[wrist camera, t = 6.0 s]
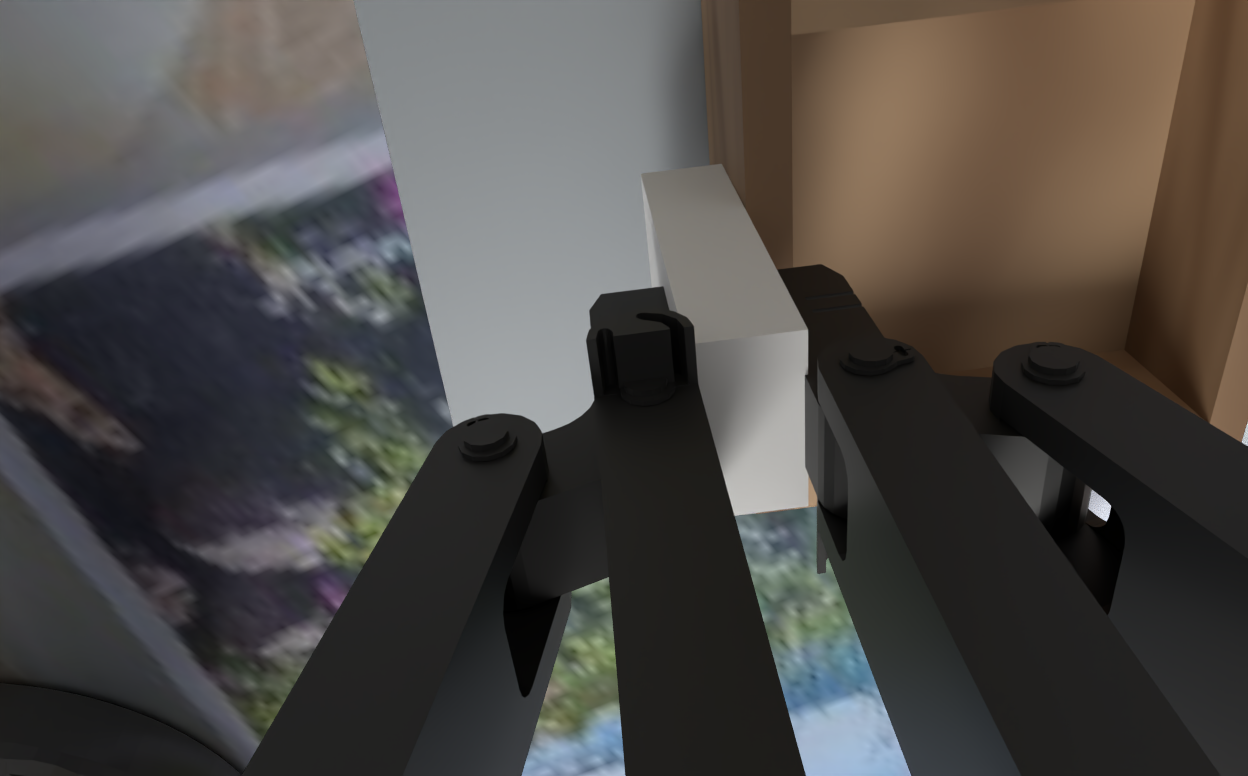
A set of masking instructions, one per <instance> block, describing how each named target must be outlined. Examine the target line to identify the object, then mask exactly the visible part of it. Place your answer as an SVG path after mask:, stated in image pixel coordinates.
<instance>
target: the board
mask: <svg viewBox="0 0 1248 776" xmlns="http://www.w3.org/2000/svg"><path fill="white" fill-rule="evenodd" d="M353 1H354V5H355V9H356V13H357V18H358V22H359V26H360V30H361V35H362V39H363V43H364V47H365V52H366V56H367V60H368V64H369V69H370V73H371V77H372V82H373V86H374V90H375V94H376V99H377V103H378V107H379V111H380V116H381V120H382V124H383V128H384V133H385V137H386V141H387V145H388V150H389V154H390V158H391V162H392V167H393V171H394V175H395V180H396V184H397V188H398V192H399V197H400V201H401V205H402V209H403V214H404V218H405V222H406V226H407V231H408V235H409V239H410V243H411V248H412V252H413V256H414V260H415V265H416V269H417V273H418V278H419V282H420V286H421V290H422V295H423V299H424V303H425V307H426V312H427V316H428V320H429V324H430V329H431V333H432V337H433V341H434V346H435V350H436V354H437V358H438V363H439V367H440V371H441V376H442V380H443V384H444V388H445V393H446V397H447V401H448V405H449V410H450V414H451V418H452V422H453V427H454V426H456V425H458V424H459V423H461V422H463V421H465V420H468V419H470V418H473V417H474V418H475V417H477V416H481V415H485V414H499V413H506V414H514V415H521V416H524V417H526V418H528V419H530V420H532V421H534V422H535V423H536V424H537V425H538V427H539V428H540V430H541V431H542V433H545V432H548V431H551V430H554V429H557V428H559V427H562V426H564V425H566V424H569V423H571V422H572V421H574V420H575V419H577V418H579V417H580V416H582V415H583V414H584V413H585V412H586V411H587V410H588V409H589V408H590V407H591V405H592V403H593V401H594V393H593V386H592V379H591V372H590V365H589V358H588V351H587V344H586V338H587V335H588V332H589V329H591V326H590V314H589V310H590V308H591V307H592V306H593V304H594V303H595V302H596V300H597V299H598V298H599V296H600V295H601V294H605V293H613V292H621V291H629V290H637V289H645V288H652V284H651V274H650V264H649V254H648V244H647V234H646V223H645V213H644V203H643V193H642V183H641V174H643V173H651V172H659V171H667V170H675V169H683V168H691V167H699V166H707V165H710V161H709V142H708V124H707V105H706V86H705V68H704V49H703V31H702V12H701V0H353Z"/></svg>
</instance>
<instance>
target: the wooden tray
mask: <svg viewBox="0 0 1248 776" xmlns="http://www.w3.org/2000/svg"><path fill="white" fill-rule="evenodd" d="M701 12H702V31H703V49H704V68H705V86H706V105H707V124H708V142H709V161H710V165H715V164H722V165H723V167H724V169H725V171H726V173H727V175H728V177H729V179H730V181H731V182H732V184H733V186H734V188H735V190H736V192H737V194H738V196H739V198H740V200H741V202H742V204H743V206H744V207H745V209H746V211H747V213H748V215H749V217H750V219H751V221H752V223H753V225H754V227H755V229H756V230H757V232H758V234H759V236H760V238H761V240H762V242H763V244H764V246H765V248H766V250H767V252H768V254H769V255H770V257H771V259H772V261H773V263H774V265H775V267H776V269H777V270H778V269H785V268H793V267H801V266H809V265H817V264H822V265H824V266H826V267H828V268H830V269H832V270H834V271H835V272H837V273H839V274H841V275H843V276H844V277H845V279H846V280H847V282H848V284H849V285H850V287H851V288H852V290H853V291H854V294H856V296H857V297H858V299H859V300H860V302H861V303H862V307H864V308H865V309H866V311H867V312H868V314H869V315H870V317H871V318H872V320H873V321H874V323H875V324H876V326H877V327H878V329H879V330H880V332H881V333H882V335H883V336H884V338H888V339H894V340H898V341H900V342H903V343H905V344H908V345H910V346H912V347H914V348H915V349H916V350H917V351H918V352H919V353H921V354H922V355H923V356H924V358H925V359H926V361H927V362H928V363H929V365H930V366H931V368H932V369H933V370H934V372H935V373H939V374H946V375H955V376H973V377H992V370H993V361H994V360H995V359H996V357H997V356H998V355H999V354H1000V353H1001V352H1002V351H1004V350H1007V349H1009V348H1011V347H1013V346H1016V345H1022V344H1029V343H1033V342H1046V343H1049V342H1058V343H1062V344H1064V345H1068V346H1073V347H1078V348H1081V349H1084V350H1086V351H1088V352H1090V353H1093V354H1095V355H1097V356H1099V357H1101V358H1103V359H1104V360H1106V361H1108V362H1109V363H1111V364H1113V365H1114V366H1116V367H1117V368H1119V369H1121V370H1122V371H1124V372H1126V373H1127V374H1129V375H1131V376H1132V377H1134V378H1136V379H1137V380H1139V381H1141V382H1142V383H1144V384H1146V385H1147V386H1149V387H1150V388H1152V389H1154V390H1155V391H1157V392H1159V393H1160V394H1162V395H1164V396H1165V397H1167V398H1169V399H1170V400H1172V401H1174V402H1175V403H1177V404H1179V405H1180V406H1182V407H1183V408H1185V409H1187V410H1188V411H1190V412H1192V413H1193V414H1195V415H1197V416H1198V417H1200V418H1202V419H1203V420H1205V421H1207V422H1208V423H1210V424H1212V425H1213V426H1215V427H1216V428H1218V429H1220V430H1221V431H1223V432H1225V433H1226V434H1228V435H1230V436H1231V437H1233V438H1235V439H1236V440H1238V441H1240V442H1242V439H1243V435H1244V432H1245V428H1246V425H1247V422H1248V0H701ZM814 506H817V495H816V492H815V490H814V487H813V485H812V483H811V480H810V478H809V475H808V506H807V507H814ZM799 508H806V507H799ZM799 508H791V509H799ZM791 509H783V510H791ZM783 510H775V511H767V512H759V513H756V514H760V513H768V512H776V511H783Z"/></svg>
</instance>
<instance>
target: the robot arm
mask: <svg viewBox="0 0 1248 776" xmlns="http://www.w3.org/2000/svg"><path fill="white" fill-rule="evenodd" d="M641 183H642V193H643V203H644V213H645V223H646V234H647V244H648V254H649V264H650V274H651V284H652V288H645V289H637V290H629V291H621V292H613V293H605V294H601V295H600V296H599V298H598V299H597V300H596V302H595V303H594V304H593V306H592V307H591V308H590V310H589V314H590V326H591V329H589V332H588V335H587V338H586V344H587V351H588V358H589V365H590V372H591V379H592V386H593V393H594V401H593V403H592V405H591V407H590V408H589V409H588V410H587V411H586V412H585V413H584V414H583V415H582V416H580V417H579V418H577V419H575V420H574V421H572V422H571V423H569V424H566V425H564V426H562V427H559V428H557V429H554V430H551V431H548V432H545V433H542V431H541V430H540V428H539V427H538V425H537V424H536V423H535V422H534V421H532V420H530V419H528V418H526V417H524V416H521V415H514V414H506V413H499V414H485V415H481V416H477V417H475V418H474V417H473V418H470V419H468V420H465V421H463V422H461V423H459V424H458V425H456V426H454V427H452V428H451V429H449V430H447V431H446V432H445V433H444V434H443V435H442V436H441V437H440V439H439V440H438V441H437V442H436V443H435V445H434V446H433V448H432V450H431V451H430V453H429V455H428V457H427V458H426V460H425V462H424V464H423V465H422V467H421V469H420V470H419V472H418V474H417V476H416V477H415V479H414V481H413V482H412V484H411V486H410V488H409V489H408V491H407V493H406V494H405V496H404V498H403V500H402V501H401V503H400V505H399V506H398V508H397V510H396V512H395V513H394V515H393V517H392V518H391V520H390V522H389V524H388V525H387V527H386V529H385V530H384V532H383V534H382V536H381V537H380V539H379V541H378V542H377V544H376V546H375V548H374V549H373V551H372V553H371V554H370V556H369V558H368V560H367V561H366V563H365V565H364V566H363V568H362V570H361V572H360V573H359V575H358V577H357V578H356V580H355V582H354V584H353V585H352V587H351V589H350V590H349V592H348V594H347V596H346V597H345V599H344V601H343V602H342V604H341V606H340V608H339V609H338V611H337V613H336V614H335V616H334V618H333V620H332V621H331V623H330V625H329V626H328V628H327V630H326V632H325V633H324V635H323V637H322V638H321V640H320V642H319V644H318V645H317V647H316V649H315V650H314V652H313V654H312V656H311V657H310V659H309V661H308V662H307V664H306V666H305V668H304V669H303V671H302V673H301V674H300V676H299V678H298V680H297V681H296V683H295V685H294V686H293V688H292V690H291V692H290V693H289V695H288V697H287V698H286V700H285V702H284V704H283V705H282V707H281V709H280V710H279V712H278V714H277V716H276V717H275V719H274V721H273V722H272V724H271V726H270V728H269V729H268V731H267V733H266V734H265V736H264V738H263V740H262V741H261V743H260V745H259V747H258V748H257V750H256V752H255V753H254V755H253V757H252V759H251V760H250V762H249V764H248V765H247V767H246V769H245V771H244V772H243V774H242V775H241V774H240V773H239V772H238V771H236V770H235V769H234V768H233V767H232V766H231V765H230V764H228V763H227V762H226V761H224V760H223V759H222V758H221V757H219V756H218V755H217V754H215V753H214V752H212V751H211V750H209V749H208V748H206V747H205V746H203V745H202V744H200V743H198V742H197V741H195V740H193V739H192V738H190V737H188V736H187V735H185V734H183V733H181V732H179V731H177V730H175V729H173V728H171V727H169V726H167V725H165V724H163V723H160V722H158V721H156V720H154V719H152V718H149V717H147V716H144V715H141V714H139V713H136V712H134V711H131V710H128V709H125V708H122V707H119V706H116V705H113V704H110V703H107V702H103V701H100V700H96V699H93V698H89V697H85V696H81V695H76V694H72V693H68V692H62V691H57V690H52V689H46V688H39V687H32V686H25V685H15V684H4V683H0V776H521V775H522V772H523V768H524V765H525V762H526V758H527V755H528V751H529V748H530V745H531V741H532V738H533V735H534V731H535V728H536V724H537V721H538V718H539V714H540V711H541V707H542V704H543V701H544V697H545V694H546V691H547V687H548V684H549V680H550V677H551V674H552V670H553V667H554V664H555V660H556V657H557V653H558V650H559V647H560V643H561V640H562V636H563V633H564V630H565V626H566V623H567V620H568V616H569V613H570V609H571V594H572V593H571V591H573V590H576V589H579V588H581V587H584V586H586V585H589V584H592V583H594V582H597V581H599V580H602V579H605V578H607V577H609V582H610V595H611V607H612V619H613V631H614V643H615V655H616V667H617V679H618V691H619V703H620V715H621V727H622V739H623V751H624V763H625V775H626V776H806V775H805V771H804V768H803V764H802V760H801V757H800V753H799V749H798V746H797V742H796V738H795V735H794V731H793V727H792V724H791V720H790V717H789V713H788V709H787V706H786V702H785V698H784V695H783V691H782V687H781V684H780V680H779V676H778V673H777V669H776V665H775V662H774V658H773V655H772V651H771V647H770V644H769V640H768V636H767V633H766V629H765V625H764V622H763V618H762V614H761V611H760V607H759V603H758V600H757V596H756V593H755V589H754V585H753V582H752V578H751V574H750V571H749V567H748V563H747V560H746V556H745V552H744V549H743V545H742V541H741V538H740V534H739V531H738V527H737V523H736V520H735V516H736V515H743V514H751V513H759V512H767V511H775V510H783V509H791V508H799V507H807V506H808V475H809V478H810V480H811V483H812V485H813V487H814V490H815V492H816V495H817V573H818V574H820V573H826V560H827V558H829V561H830V563H831V566H832V569H833V571H834V574H835V576H836V579H837V582H838V584H839V587H840V590H841V592H842V595H843V597H844V600H845V603H846V605H847V608H848V611H849V613H850V616H851V618H852V621H853V624H854V626H855V629H856V632H857V634H858V637H859V639H860V642H861V645H862V647H863V650H864V653H865V655H866V658H867V660H868V663H869V666H870V668H871V671H872V674H873V676H874V679H875V681H876V684H877V687H878V689H879V692H880V695H881V697H882V700H883V702H884V705H885V708H886V710H887V713H888V716H889V718H890V721H891V723H892V726H893V729H894V731H895V734H896V737H897V739H898V742H899V744H900V747H901V750H902V752H903V755H904V758H905V760H906V763H907V765H908V768H909V771H910V773H911V776H1248V446H1246V445H1244V444H1243V443H1241V442H1240V441H1238V440H1236V439H1235V438H1233V437H1231V436H1230V435H1228V434H1226V433H1225V432H1223V431H1221V430H1220V429H1218V428H1216V427H1215V426H1213V425H1212V424H1210V423H1208V422H1207V421H1205V420H1203V419H1202V418H1200V417H1198V416H1197V415H1195V414H1193V413H1192V412H1190V411H1188V410H1187V409H1185V408H1183V407H1182V406H1180V405H1179V404H1177V403H1175V402H1174V401H1172V400H1170V399H1169V398H1167V397H1165V396H1164V395H1162V394H1160V393H1159V392H1157V391H1155V390H1154V389H1152V388H1150V387H1149V386H1147V385H1146V384H1144V383H1142V382H1141V381H1139V380H1137V379H1136V378H1134V377H1132V376H1131V375H1129V374H1127V373H1126V372H1124V371H1122V370H1121V369H1119V368H1117V367H1116V366H1114V365H1113V364H1111V363H1109V362H1108V361H1106V360H1104V359H1103V358H1101V357H1099V356H1097V355H1095V354H1093V353H1090V352H1088V351H1086V350H1084V349H1081V348H1078V347H1073V346H1068V345H1064V344H1062V343H1058V342H1049V343H1046V342H1033V343H1029V344H1022V345H1016V346H1013V347H1011V348H1009V349H1007V350H1004V351H1002V352H1001V353H1000V354H999V355H998V356H997V357H996V359H995V360H994V361H993V370H992V377H973V376H955V375H946V374H939V373H935V372H934V370H933V369H932V368H931V366H930V365H929V363H928V362H927V361H926V359H925V358H924V356H923V355H922V354H921V353H919V352H918V351H917V350H916V349H915V348H914V347H912V346H910V345H908V344H905V343H903V342H900V341H898V340H894V339H888V338H884V336H883V335H882V333H881V332H880V330H879V329H878V327H877V326H876V324H875V323H874V321H873V320H872V318H871V317H870V315H869V314H868V312H867V311H866V309H865V308H864V307H862V303H861V302H860V300H859V299H858V297H857V296H856V294H854V291H853V290H852V288H851V287H850V285H849V284H848V282H847V280H846V279H845V277H844V276H843V275H841V274H839V273H837V272H835V271H834V270H832V269H830V268H828V267H826V266H824V265H822V264H817V265H809V266H801V267H793V268H785V269H778V270H777V269H776V267H775V265H774V263H773V261H772V259H771V257H770V255H769V254H768V252H767V250H766V248H765V246H764V244H763V242H762V240H761V238H760V236H759V234H758V232H757V230H756V229H755V227H754V225H753V223H752V221H751V219H750V217H749V215H748V213H747V211H746V209H745V207H744V206H743V204H742V202H741V200H740V198H739V196H738V194H737V192H736V190H735V188H734V186H733V184H732V182H731V181H730V179H729V177H728V175H727V173H726V171H725V169H724V167H723V165H722V164H715V165H707V166H699V167H691V168H683V169H675V170H667V171H659V172H651V173H643V174H641ZM1092 490H1094V491H1095V492H1096V493H1098V494H1099V495H1100V496H1101V497H1103V498H1104V499H1105V500H1106V501H1107V502H1108V503H1109V504H1110V505H1111V510H1110V515H1109V518H1108V520H1107V522H1106V521H1104V520H1102V519H1101V518H1099V517H1098V516H1096V515H1095V514H1094V513H1093V512H1091V511H1090V510H1089V509H1088V506H1089V501H1090V496H1091V491H1092Z"/></svg>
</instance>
